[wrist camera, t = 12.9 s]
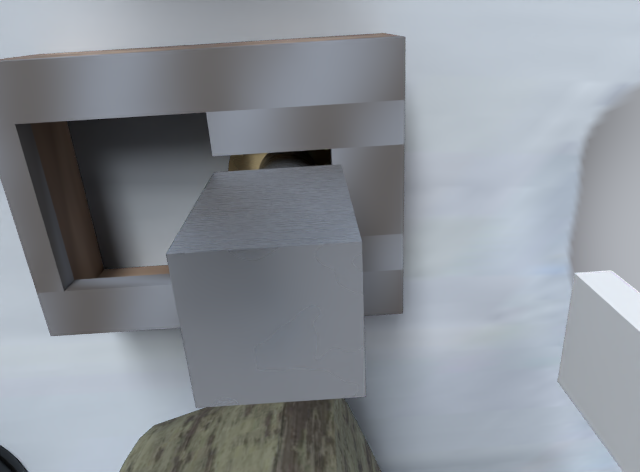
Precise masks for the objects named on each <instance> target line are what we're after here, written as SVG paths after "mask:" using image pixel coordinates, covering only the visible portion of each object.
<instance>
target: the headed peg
mask: <svg viewBox="0 0 640 472" xmlns="http://www.w3.org/2000/svg"><path fill="white" fill-rule="evenodd" d="M166 257H167V262H168V267H169V272H170V277H171V282H172V288H173V293H174V298H175V303H176V308H177V313H178V318H179V323H180V328H181V334H182V339H183V344H184V349H185V354H186V359H187V364H188V369H189V375H190V380H191V385H192V390H193V395H194V400H195V405H196V408H202V407H217V406H233V405H248V404H263V403H278V402H293V401H309V400H324V399H339V398H354V397H366V383H365V343H364V303H363V263H362V240H361V236H360V232H359V229H358V225H357V221H356V217H355V214H354V210H353V206H352V202H351V199H350V195H349V191H348V187H347V183H346V180H345V176H344V172H343V168H342V165H341V164H338V165H331V151H330V149H321V150H305V151H289V152H273V153H257V154H241V155H231V156H230V161H229V168H228V171H226V172H214V173H213V175H212V176H211V178H210V180H209V181H208V183H207V185H206V187H205V188H204V190H203V192H202V193H201V195H200V197H199V199H198V200H197V202H196V204H195V205H194V207H193V209H192V211H191V212H190V214H189V216H188V217H187V219H186V221H185V222H184V224H183V226H182V228H181V229H180V231H179V233H178V234H177V236H176V238H175V240H174V241H173V243H172V245H171V246H170V248H169V250H168V252H167V253H166Z"/></svg>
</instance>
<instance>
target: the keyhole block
mask: <svg viewBox="0 0 640 472" xmlns="http://www.w3.org/2000/svg"><path fill="white" fill-rule="evenodd" d="M203 112H206V115H207V122H208V129H209V136H210V143H211V150H212V156H225V155H241V154H257V153H273V152H289V151H305V150H321V149H330V151H331V165H338V164H341V165H342V168H343V172H344V176H345V180H346V183H347V187H348V191H349V195H350V199H351V202H352V206H353V210H354V214H355V217H356V221H357V225H358V229H359V232H360V236H361V240H362V263H363V303H364V316H370V315H385V314H401V313H403V227H404V129H405V37H403V36H397V35H391V34H385V33H380V34H363V35H347V36H331V37H314V38H298V39H282V40H265V41H249V42H233V43H217V44H200V45H184V46H168V47H151V48H135V49H119V50H102V51H86V52H70V53H53V54H37V55H29V56H21V57H13V58H6V59H0V178H1V181H2V185H3V188H4V191H5V194H6V197H7V200H8V203H9V207H10V210H11V213H12V216H13V219H14V222H15V225H16V229H17V232H18V235H19V238H20V241H21V244H22V247H23V251H24V254H25V257H26V260H27V263H28V266H29V269H30V273H31V276H32V279H33V282H34V285H35V288H36V291H37V295H38V298H39V301H40V304H41V307H42V310H43V313H44V317H45V320H46V323H47V326H48V329H49V332H50V335H51V336H61V335H76V334H92V333H107V332H123V331H138V330H154V329H169V328H180V323H179V318H178V313H177V308H176V303H175V298H174V293H173V288H172V282H171V277H170V272H169V267H168V265H162V266H147V267H131V268H116V269H104V266H103V262H102V258H101V254H100V250H99V246H98V242H97V238H96V234H95V230H94V226H93V222H92V219H91V215H90V211H89V207H88V203H87V199H86V195H85V191H84V187H83V183H82V179H81V175H80V171H79V167H78V163H77V159H76V155H75V151H74V147H73V143H72V139H71V135H70V131H69V127H68V123H67V121H74V120H90V119H106V118H122V117H138V116H155V115H171V114H187V113H203Z"/></svg>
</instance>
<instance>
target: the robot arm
mask: <svg viewBox="0 0 640 472" xmlns="http://www.w3.org/2000/svg"><path fill="white" fill-rule="evenodd" d="M557 382H558V383H559V384H560V386H561V387H562V388H563V390H564V391H565V393H566V394H567V395H568V397H569V398H570V399H571V401H572V402H573V404H574V405H575V406H576V408H577V409H578V410H579V412H580V413H581V415H582V416H583V417H584V419H585V420H586V421H587V423H588V424H589V426H590V427H591V428H592V430H593V431H594V432H595V434H596V435H597V437H598V438H599V439H600V441H601V442H602V444H603V445H604V446H605V448H606V449H607V450H608V452H609V453H610V455H611V456H612V457H613V459H614V460H615V461H616V463H617V464H618V466H619V467H620V468H621V470H622V471H623V472H640V292H638V291H637V290H636V289H635V288H633V287H632V286H631V285H629V284H628V283H627V282H625V281H624V280H623V279H622V278H621V277H619V276H618V275H617V274H615V273H614V272H613V271H596V272H581V273H575V274H574V280H573V286H572V293H571V299H570V305H569V312H568V318H567V324H566V330H565V337H564V343H563V349H562V356H561V362H560V368H559V374H558V381H557Z"/></svg>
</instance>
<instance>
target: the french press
mask: <svg viewBox="0 0 640 472" xmlns="http://www.w3.org/2000/svg"><path fill="white" fill-rule="evenodd" d="M0 472H26V470H25V469H24V468H23V466H22V465H21V464H20V462H19V461H18V460H17V459H16V458H15V457H14V456H13V455H11V454H10V453H9V452H8V451H7V450H6V449H4V448H2V447H1V446H0Z"/></svg>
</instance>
